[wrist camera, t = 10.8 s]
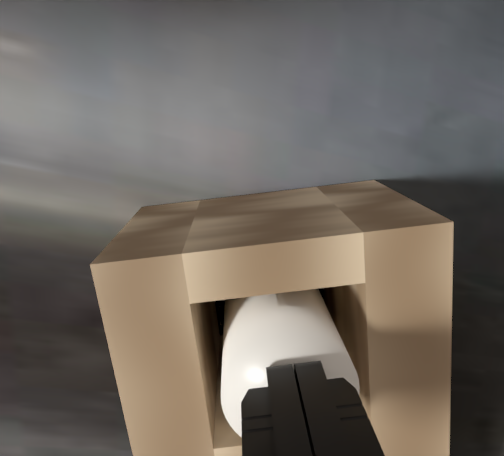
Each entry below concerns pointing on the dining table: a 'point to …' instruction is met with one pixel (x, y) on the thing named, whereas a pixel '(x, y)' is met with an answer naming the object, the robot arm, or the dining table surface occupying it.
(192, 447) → the maple block
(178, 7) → the dining table surface
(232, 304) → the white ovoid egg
